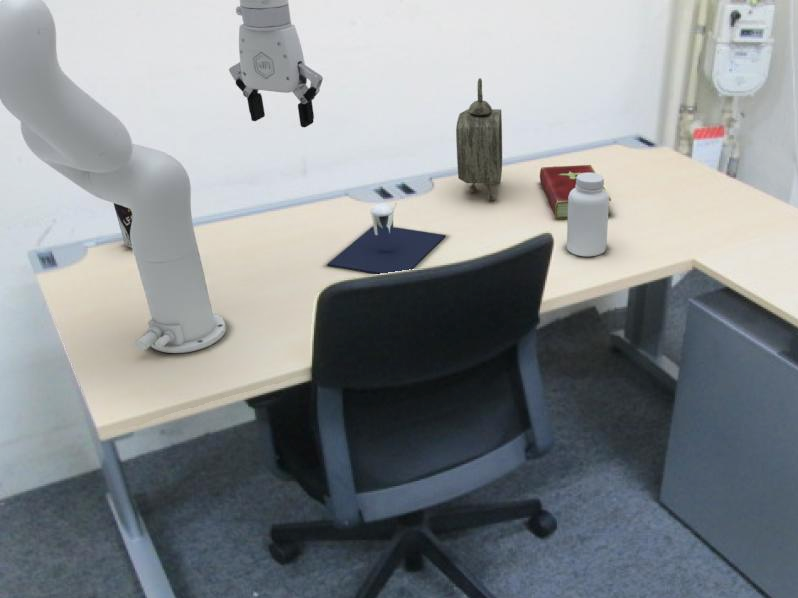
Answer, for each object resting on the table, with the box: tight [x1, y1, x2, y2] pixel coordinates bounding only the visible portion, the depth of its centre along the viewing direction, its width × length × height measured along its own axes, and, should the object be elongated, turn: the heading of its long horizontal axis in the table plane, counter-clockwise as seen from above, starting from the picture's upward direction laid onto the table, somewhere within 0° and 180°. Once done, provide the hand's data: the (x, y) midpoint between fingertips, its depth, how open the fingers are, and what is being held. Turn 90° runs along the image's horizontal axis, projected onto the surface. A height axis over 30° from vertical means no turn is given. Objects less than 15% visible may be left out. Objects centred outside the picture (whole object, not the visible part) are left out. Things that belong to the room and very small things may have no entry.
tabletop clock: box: [455, 77, 503, 202], centre depth 198 cm, size 14×9×25 cm, turn 179°
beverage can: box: [113, 203, 132, 249], centre depth 177 cm, size 6×6×12 cm
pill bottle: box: [566, 172, 610, 257], centre depth 176 cm, size 8×8×15 cm
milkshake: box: [369, 202, 398, 252], centre depth 176 cm, size 4×5×10 cm
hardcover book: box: [539, 164, 612, 221], centre depth 201 cm, size 12×21×4 cm, turn 9°
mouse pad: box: [326, 226, 446, 275], centre depth 179 cm, size 20×16×1 cm
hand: (282, 122), depth 156 cm, fingers open, 9 cm apart
